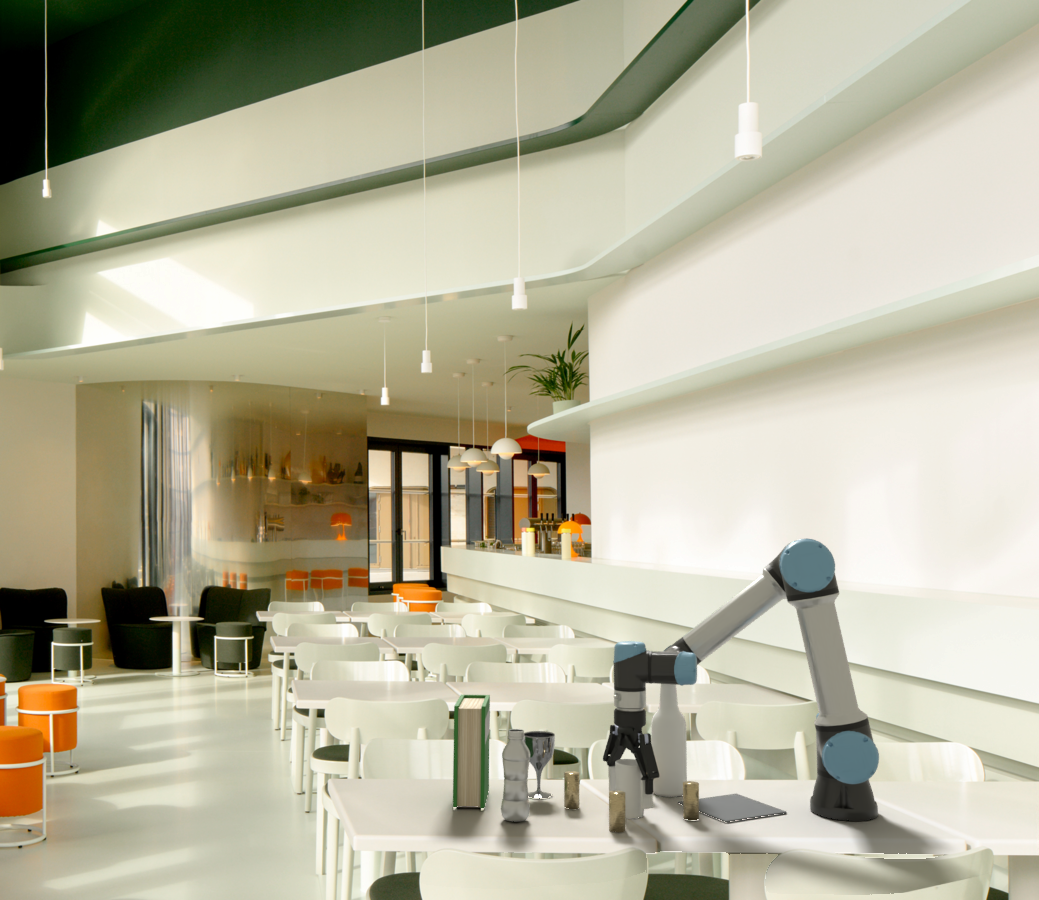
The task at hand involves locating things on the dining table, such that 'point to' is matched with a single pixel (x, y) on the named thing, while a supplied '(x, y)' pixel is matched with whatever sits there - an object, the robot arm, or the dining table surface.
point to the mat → (735, 807)
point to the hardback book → (471, 750)
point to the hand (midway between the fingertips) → (630, 801)
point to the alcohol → (669, 744)
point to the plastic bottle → (515, 777)
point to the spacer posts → (618, 801)
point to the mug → (629, 786)
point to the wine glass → (539, 755)
